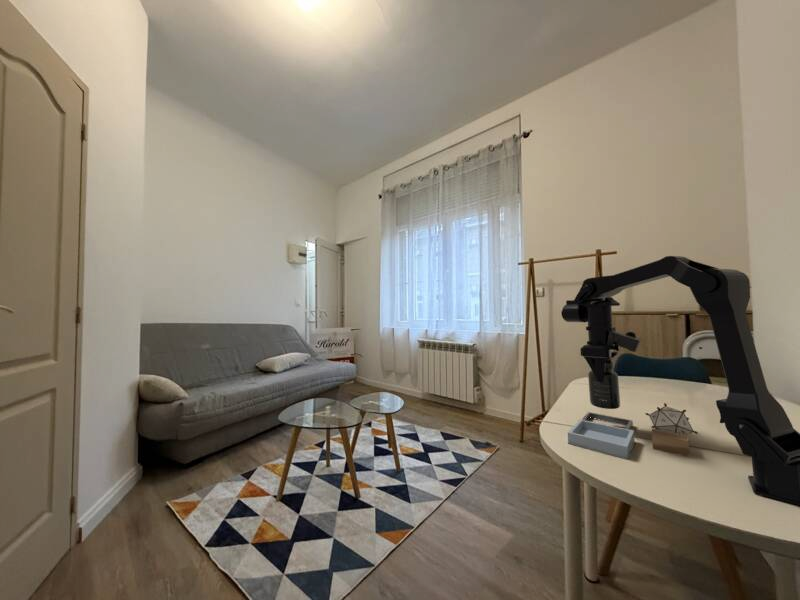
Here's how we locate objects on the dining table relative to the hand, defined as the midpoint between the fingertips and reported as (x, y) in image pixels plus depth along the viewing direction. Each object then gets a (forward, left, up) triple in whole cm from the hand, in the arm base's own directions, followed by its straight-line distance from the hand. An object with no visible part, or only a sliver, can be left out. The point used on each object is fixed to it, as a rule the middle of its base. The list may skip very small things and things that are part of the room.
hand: (603, 379), depth 79 cm
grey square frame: (0, 0, -13) cm, 13 cm away
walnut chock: (-6, -13, -13) cm, 19 cm away
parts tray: (-12, -1, -13) cm, 18 cm away
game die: (+1, -13, -13) cm, 18 cm away
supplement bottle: (0, 0, -7) cm, 7 cm away
